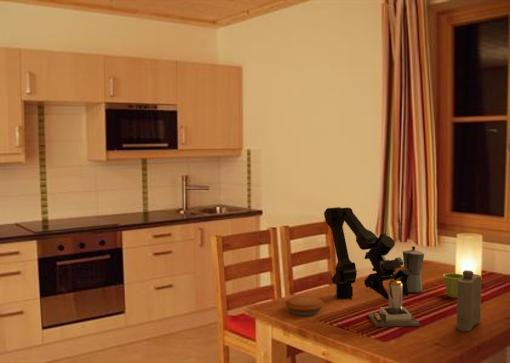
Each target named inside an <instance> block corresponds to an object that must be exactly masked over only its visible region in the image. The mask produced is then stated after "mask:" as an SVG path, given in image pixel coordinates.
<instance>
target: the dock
mask: <svg viewBox="0 0 510 363" xmlns="http://www.w3.org/2000/svg"><path fill="white" fill-rule="evenodd" d="M368 318H369V319H370V321H371V322H372V323H373V325H374V326H375V327H376V328H381V327H382V328H385V327H387V328H388V327H389V328H390V327H392V328H394V327H396V326H399V327H420V326H421V324H420V322H419V321H418V320H417V319H416V318H415V317H414V315H412V314H411V313H410V312H409V310H408V309H407V308H406V307H405V306H402V314H388V306H386V307H385V306H381V307H379V313H378V312H374V313H373V312H372V313H368Z"/></svg>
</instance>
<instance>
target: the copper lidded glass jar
mask: <svg viewBox="0 0 510 363" xmlns="http://www.w3.org/2000/svg"><path fill="white" fill-rule="evenodd" d="M402 286H403V284H402V283H401V281H399V280H394V279H392V280H389V282H388V296H389V299H388V306H387V307H388V314H402V307H403V292H402Z"/></svg>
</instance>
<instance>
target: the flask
mask: <svg viewBox="0 0 510 363" xmlns="http://www.w3.org/2000/svg"><path fill="white" fill-rule="evenodd" d="M462 275H463V276H462V277H460V278H459V279H458V281H457V297H456V329H457V331H460V332H465V333H466V332H471V331H472V329H473V328H474V326H475V325H478V324H480V323H481V311H482V309H481V307H482V302H481V300H482V275H480V274H475V273H474V272H473V270H464V271H463V272H462Z"/></svg>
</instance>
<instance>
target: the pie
mask: <svg viewBox="0 0 510 363" xmlns="http://www.w3.org/2000/svg"><path fill="white" fill-rule="evenodd" d="M284 305H285V306H286V308H287V309H288V311H289V312H290V313H291V314H292V315H295V316H299V317H300V316H301V317H311V316H315V315H317V314H319V312H320V311H321V308H322V307H323V306H324V305H325V303H324V301H323V300H322V299H319V298H317V297H314V296H311V295H310V296H309V295H299V296H292V297H290V298H289V299H287V300H285V301H284Z"/></svg>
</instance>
